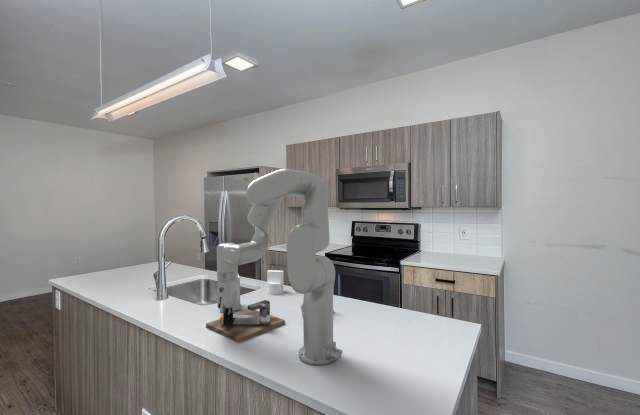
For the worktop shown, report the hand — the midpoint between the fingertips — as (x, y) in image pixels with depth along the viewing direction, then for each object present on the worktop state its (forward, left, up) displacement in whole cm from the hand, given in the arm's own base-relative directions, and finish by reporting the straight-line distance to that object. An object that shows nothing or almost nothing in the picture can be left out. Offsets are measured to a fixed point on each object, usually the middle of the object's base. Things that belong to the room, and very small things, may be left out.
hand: (228, 323), depth 115 cm
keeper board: (0, -8, -3) cm, 9 cm away
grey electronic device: (-16, -33, -4) cm, 37 cm away
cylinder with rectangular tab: (+25, -46, -3) cm, 52 cm away
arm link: (-2, -6, -1) cm, 7 cm away
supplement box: (+23, -16, -3) cm, 28 cm away
